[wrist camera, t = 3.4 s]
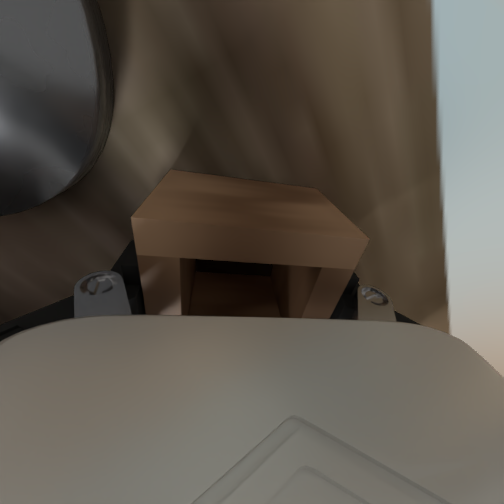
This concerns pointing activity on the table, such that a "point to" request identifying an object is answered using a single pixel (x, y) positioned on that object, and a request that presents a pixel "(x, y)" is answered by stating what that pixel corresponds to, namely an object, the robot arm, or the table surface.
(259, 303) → the hollow wooden square
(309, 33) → the table surface
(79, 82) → the post base
